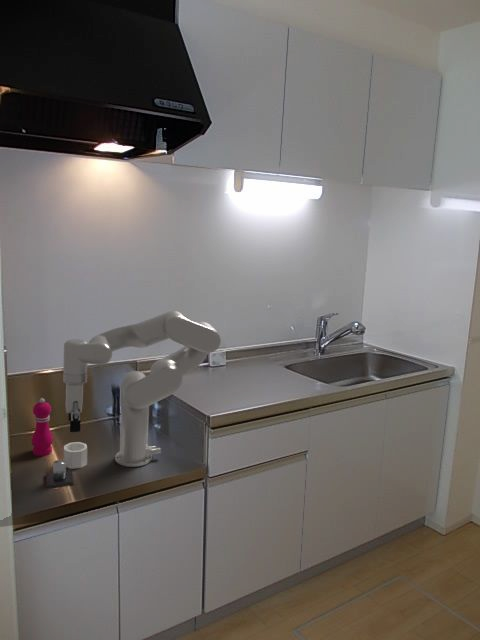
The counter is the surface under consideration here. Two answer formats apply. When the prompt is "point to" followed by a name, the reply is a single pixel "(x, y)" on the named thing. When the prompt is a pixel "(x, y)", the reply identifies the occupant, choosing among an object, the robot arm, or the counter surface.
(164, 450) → the counter surface
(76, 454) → the white hollow octagonal tube
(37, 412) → the pepper mill
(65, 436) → the counter surface
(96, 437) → the counter surface
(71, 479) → the duct stub
